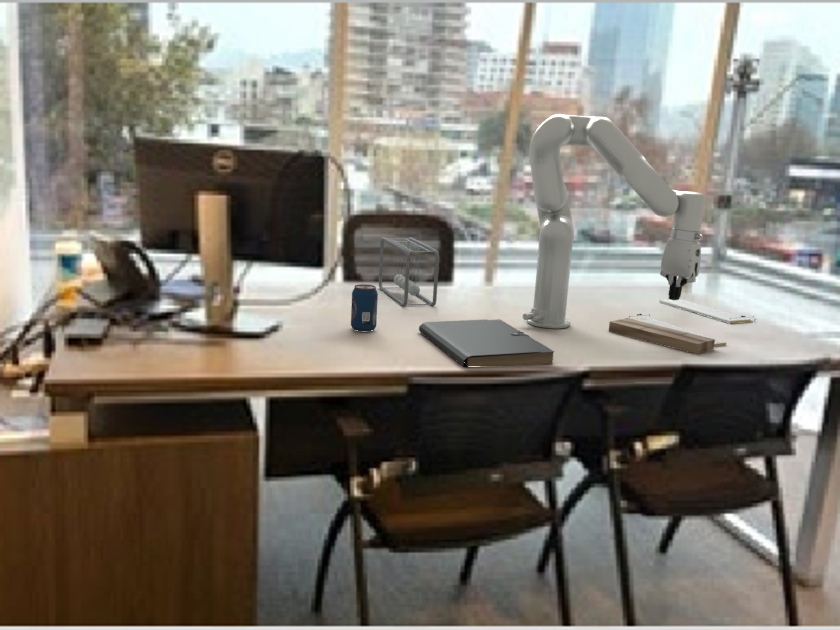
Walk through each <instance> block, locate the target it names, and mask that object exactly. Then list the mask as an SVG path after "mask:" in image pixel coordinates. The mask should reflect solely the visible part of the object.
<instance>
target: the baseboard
mask: <svg viewBox="0 0 840 630" xmlns="http://www.w3.org/2000/svg"><path fill="white" fill-rule="evenodd" d="M650 315H651V314H650V313H649V314H648V317H645V316H647V315H646V314H645V315H643V314H642V313H639V314H636V316H642V317H640V318H638V317H637V318H633V319H634V320H638V321H642V322H646V323H650V324H654V325H658V326H662V327H666V328H670V329H674V330H678V331H682V332H686V333H691V334H695V335H699V336H703V337H707V338H711V339H715V343H714V346H715V347H721V346H720V345H724V346H727V342H726V341H723V340H720V339H716V338H714V337H711V336H707V335H705V334H702V333H698V332H696V331H695V332H694V331H692V330H689V329H686V328H684V327H680V326H678V325H677V326H676V325H673V324H670V323H668V322H664V321H661V320H659V319H656V318H652V317H650ZM628 317H629V318H630V317H633V315H632V316H631V315H629V316H628Z"/></svg>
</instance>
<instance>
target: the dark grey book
mask: <svg viewBox="0 0 840 630" xmlns="http://www.w3.org/2000/svg"><path fill="white" fill-rule="evenodd" d="M418 327H419V328H418V331H419V332H420V333H421V334H422V333H423V334H424V335H425V336H424V335H423V334H422V335H423V336H424V337H425V338H427V337H428V338H429V339H430V340H429V339H428V338H427V339H428V340H429V341H430V342H432V341H433V342H434V343H435V344H434V343H433V342H432V343H433V344H434V345H435V346H437V345H438V346H439V347H440V348H439V347H438V346H437V347H438V348H439V349H441V350H442V349H443V350H444V351H445V352H444V351H443V350H442V351H443V352H444V353H446V354H447V353H448V354H449V355H450V356H449V355H448V354H447V355H448V356H449V357H450V358H452V357H453V358H454V359H455V360H454V359H453V358H452V359H453V360H454V361H456V360H457V361H458V362H459V363H460V365H461V364H462V365H463V366H464V364H465V363H466V364H467V365H466V364H465V365H466V366H501V367H516V366H517V367H519V366H520V365H521V366H537V365H538V366H539V365H552V364H553V363H554V353H555V350H553V349H551V348H549V347H547V346H546V345H544V344H543V343H541V342H540V341H537V340H536V339H534V338H532V337H531V336H530V335H528V334H526V333H524V332H523V331H521V330H518V329H517V328H516V327H514V326H512V325H510V324H509V323H507V322H505V321H504V320H502V319H499V318H498V319H465V320H445V321H444V320H443V321H441V320H440V321H426V322H422V323H421V324H420V325H419V326H418ZM457 361H456V362H457ZM458 362H457V363H458ZM464 362H465V363H464ZM459 363H458V364H459ZM462 365H461V366H462ZM463 366H462V367H463ZM464 367H465V366H464Z"/></svg>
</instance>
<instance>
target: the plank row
mask: <svg viewBox="0 0 840 630" xmlns="http://www.w3.org/2000/svg"><path fill="white" fill-rule="evenodd" d="M634 319H635V318H630V317H629V318H628V317H626V318H622V319H621V318H620V319H617V320H611V321H609V325H608V332H609V333H614V334H619V335H622V336H625V335H626V337H629V336H630V338H633V337H634V339H637V338H638V339H637V340H641V339H642V340H641V341H644V340H646V341H645V342H648V341H651V342H650V343H652V342H654V343H653V344H656V343H658V344H657V345H660V344H662V345H661V346H663V345H666V346H665V347H667V346H670V347H669V348H671V347H674V348H673V349H675V348H677V349H676V350H679V349H681V350H680V351H682V350H684V352H686V351H688V352H687V353H690V352H692V353H691V354H694V353H695V354H694V355H699V354H702V352H703V353H706V352H709V351H713V350H714V349H715V347H714V343H715V339H716V338H714V339H711V338H712V337H711V338H707V337H703V336H699V335H695V334H691V333H686V332H682V331H678V330H674V329H670V328H666V327H662V326H658V325H654V324H650V323H646V322H642V321H638V320H634Z"/></svg>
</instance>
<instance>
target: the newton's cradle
mask: <svg viewBox="0 0 840 630" xmlns="http://www.w3.org/2000/svg"><path fill="white" fill-rule="evenodd" d="M397 240H403V241H406V245H404V244H402V243H400V242H398V241H397ZM385 242H386V243H387V244H389V245H391V246H392V247H394V249H395V252H397V249H398V251H401V253H402V256H404V257H403V258H402V260H403V263H402V261H401V259H399V263H400V265H401V267H400V270H401V271H400V272H399V270H397V274H396V275H395V276H394V278H393V282H394V284H395V285H397V286H398V287H397V286H396V287H393V286H392V287H391V286H389V287H386V286H385V287H384V286H383V270H384V269H383V266H384V265H383V264H384V246H385V245H384V244H385ZM379 245H380V246H379V247H380V249H379V268H378V287H379V290H381V291H382V292H383V291H384V292H383V293H385V294H386V295H387V294H388V295H387V296H388V297H390V298H391V297H392V298H393V299H392V298H391V299H392V300H394V301H395V302H396V301H397V302H396V303H398V305H400V304H401V305H400V306H401V307H403V306H405V307H406V306H431V307H435V306H436V304H437V297H438V296H437V295H438V283H439V279H438V278H439V265H440V254H439V251H438V250H437V249H435V248H434V247H432V246H429V245H427V244H425V243H423V242H422V241H419V240H418V239H416V238H414V237H411V236H410V237H408V238H406V237H405V238H403V237H402V238H401V237H398V238H396V237H395V238H394V237H391V238H389V237H385V236H382V237H381V239H380V244H379ZM413 245H414V250H413ZM417 247H418V250H417ZM421 249H422V250H421ZM404 253H405V254H404ZM411 253H413V255H412V260H411ZM415 253H417V257H416V261H415V264H414V268H413V270H412V265H413V260H414V258H415V257H414V256H415ZM419 253H422V254H421V257H420V261H419V264H418V265H419V267H418V271H417V275H416V278H415V283H414V274H415V269H416V266H417V261H418V257H419ZM424 253H433V254H434V256H435V258H434V259H435V260H434V262H435V263H434V273H433V274H434V276H433V292H432V295H433V296H432V301H431V300H430V299H428V298H427V297H426V296H424V295H423V294H421V293H420V292H421V291H420V290H421V288H420V286H419V285H418V284H416V283H417V279H418V275H419V272H420V271H419V270H420V266H421V262H422V259H423V254H424ZM397 255H399V258H401V254H400V252H398V254H395V257H396V259H398V256H397ZM404 265H405V266H404ZM396 266H397V267H399V264H398V262H396ZM403 268H404V275H403V274H402V273H403ZM410 274H412V275H411V280H410ZM388 289H402V290H404V292H403V294H404V295H403V301H402V300H401V299H399V298H398V297H397V296H396V295H394V294H393V293H391V292H390V291H389V290H388ZM409 295H410V296H413V297H415V296H416V295H417V296H416V297H418V298H419V297H420V298H419V299H421V300H422V299H423V302H425V303H408V298H409ZM426 302H427V303H426Z"/></svg>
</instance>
